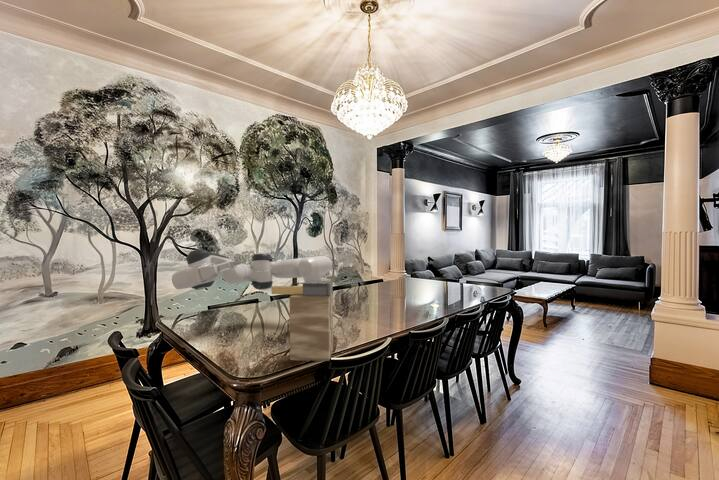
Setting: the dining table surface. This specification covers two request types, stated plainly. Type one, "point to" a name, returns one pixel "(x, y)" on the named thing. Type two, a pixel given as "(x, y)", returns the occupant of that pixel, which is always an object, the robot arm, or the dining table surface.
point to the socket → (317, 288)
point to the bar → (287, 290)
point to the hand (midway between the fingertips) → (235, 263)
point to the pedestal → (311, 327)
